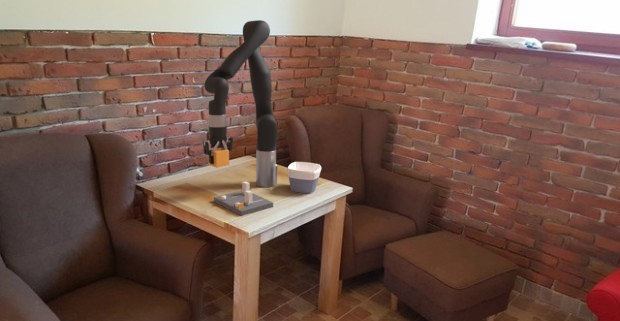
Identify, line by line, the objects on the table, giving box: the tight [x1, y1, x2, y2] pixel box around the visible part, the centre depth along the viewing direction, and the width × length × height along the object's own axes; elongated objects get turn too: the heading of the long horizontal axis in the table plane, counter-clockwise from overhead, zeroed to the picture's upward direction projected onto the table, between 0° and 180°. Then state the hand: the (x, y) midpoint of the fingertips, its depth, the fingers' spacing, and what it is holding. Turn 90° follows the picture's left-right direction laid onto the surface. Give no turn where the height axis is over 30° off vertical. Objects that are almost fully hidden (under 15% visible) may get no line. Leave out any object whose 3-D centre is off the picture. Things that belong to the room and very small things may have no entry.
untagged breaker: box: [241, 181, 251, 195], centre depth 199 cm, size 3×3×5 cm
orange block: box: [207, 148, 230, 169], centre depth 198 cm, size 6×6×7 cm
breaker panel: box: [213, 189, 274, 217], centre depth 193 cm, size 16×20×4 cm
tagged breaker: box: [243, 190, 254, 205], centre depth 188 cm, size 3×3×5 cm
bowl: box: [286, 161, 322, 194], centre depth 214 cm, size 15×15×11 cm
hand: (218, 162), depth 199 cm, fingers closed on orange block, 6 cm apart
